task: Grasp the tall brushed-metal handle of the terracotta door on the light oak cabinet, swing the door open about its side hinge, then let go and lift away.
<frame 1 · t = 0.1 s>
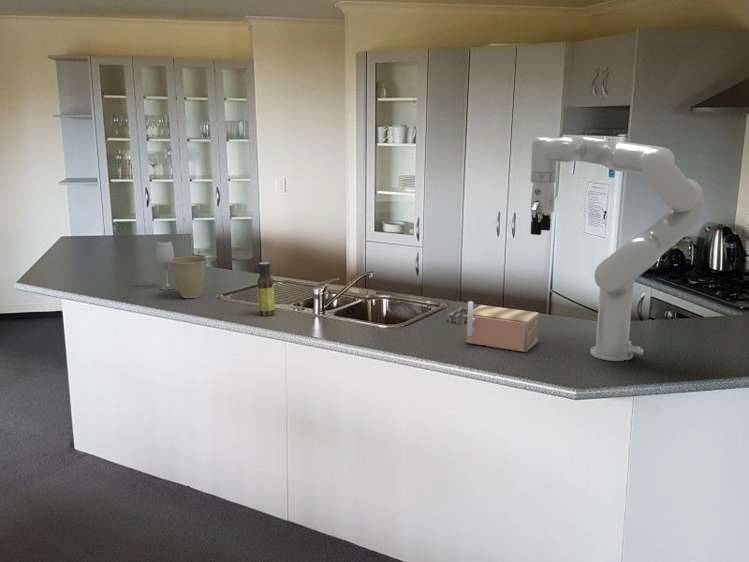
hand: (540, 232, 221), 37 cm above the worktop, tool pointing down, fingers open, 9 cm apart
sauce bottle: (267, 314, 266), on the worktop
wineglass: (167, 289, 308), on the worktop
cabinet: (502, 342, 230), on the worktop
door: (495, 326, 221), point 8 cm above the worktop, hinge at 0.0°
egg carton: (462, 321, 256), on the worktop
plant pot: (191, 297, 293), on the worktop
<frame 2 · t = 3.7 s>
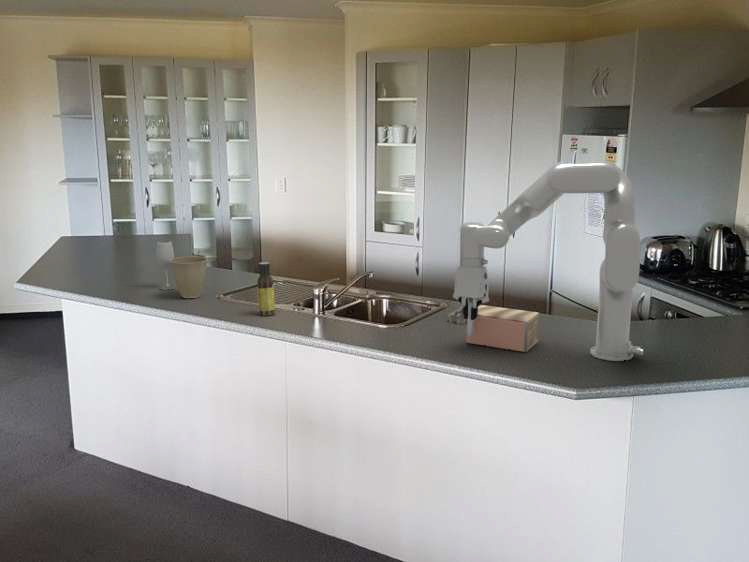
hand: (470, 318, 224), 10 cm above the worktop, tool pointing down, fingers closed on door
door: (495, 326, 221), point 8 cm above the worktop, hinge at 0.0°, touching gripper
everything else where it was.
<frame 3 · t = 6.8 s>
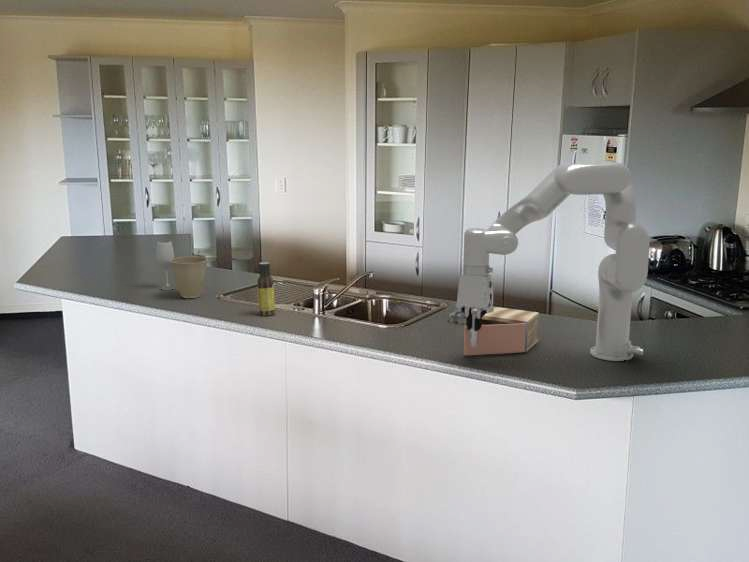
hand: (473, 329, 212), 10 cm above the worktop, tool pointing down, fingers closed on door
door: (498, 332, 215), point 8 cm above the worktop, hinge at 37.9°, touching gripper
everything else where it was.
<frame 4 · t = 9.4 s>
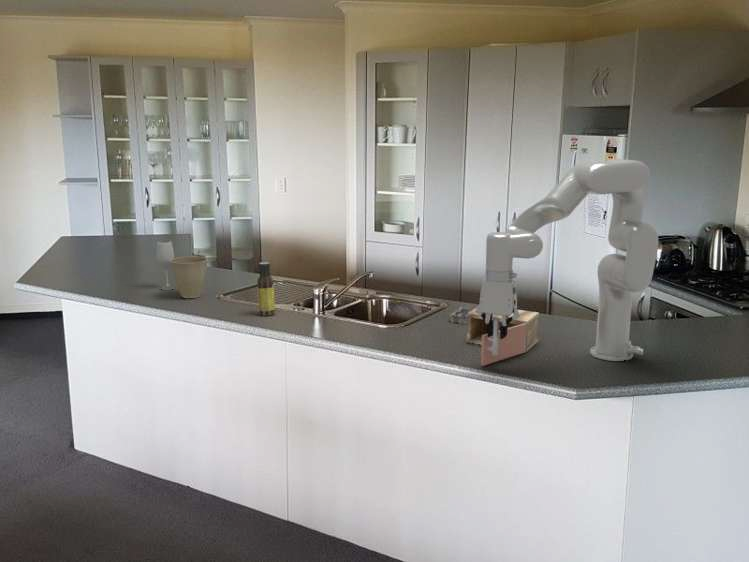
hand: (496, 336, 205), 10 cm above the worktop, tool pointing down, fingers open, 3 cm apart
door: (509, 336, 211), point 8 cm above the worktop, hinge at 68.7°
everything else where it was.
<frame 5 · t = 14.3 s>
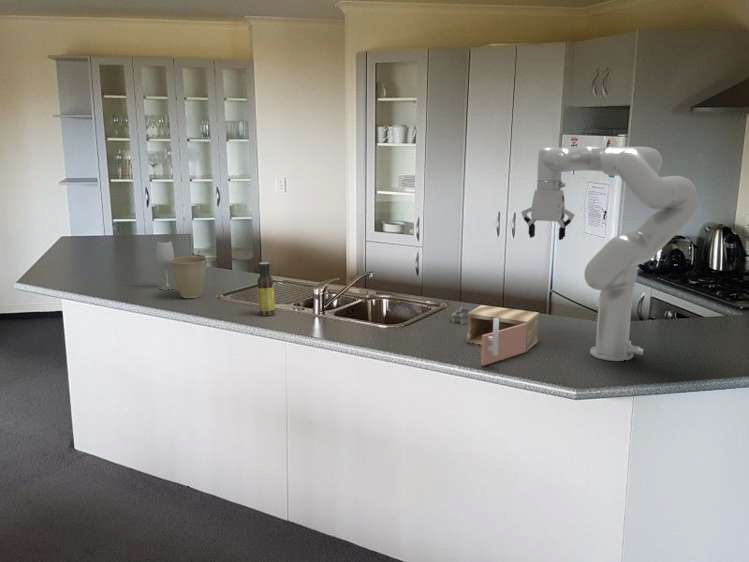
hand: (546, 238, 230), 33 cm above the worktop, tool pointing down, fingers open, 9 cm apart
nothing on the worktop moved.
at the end: door at +69° (first picture: +0°); egg carton moved 1.1 cm from its start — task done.
